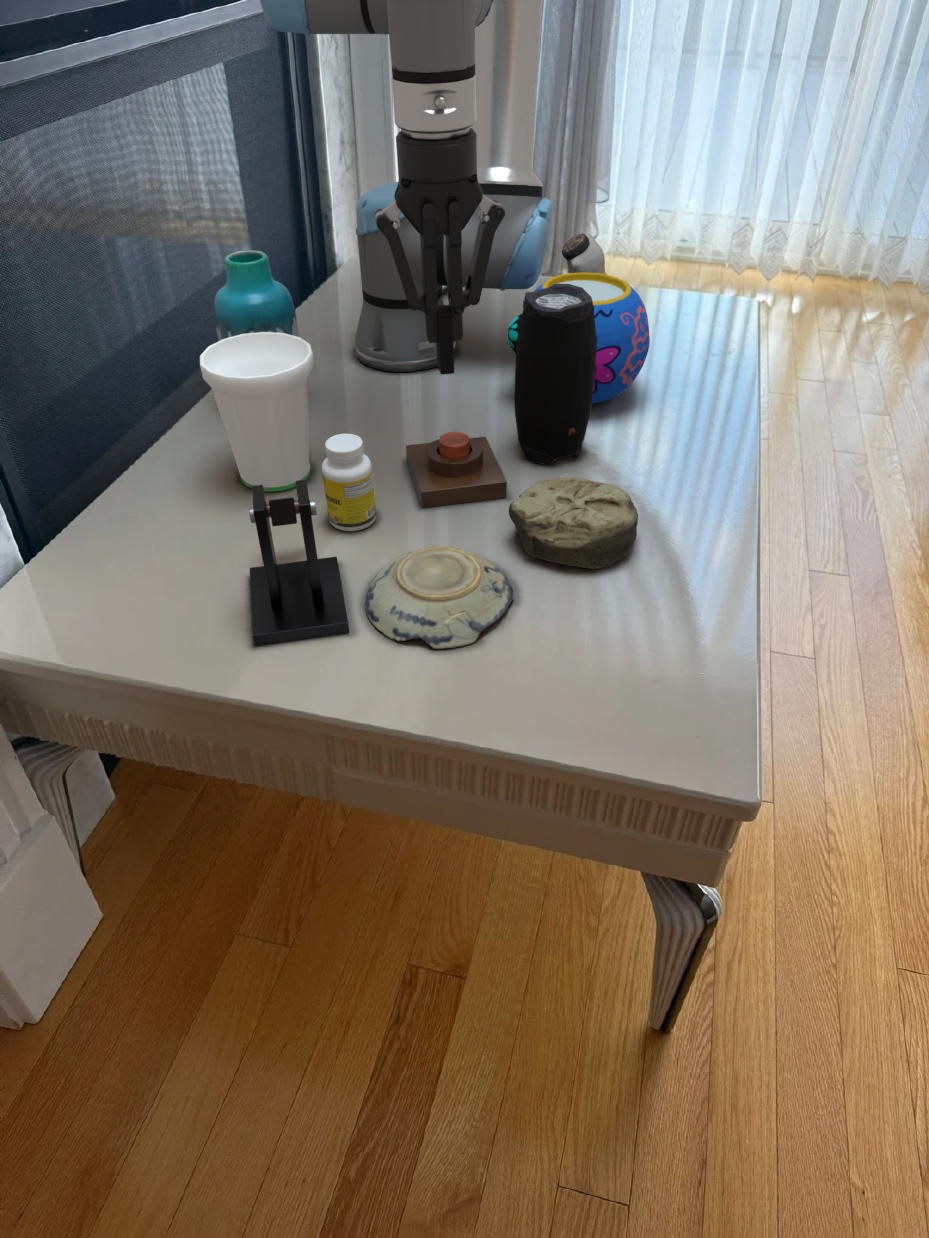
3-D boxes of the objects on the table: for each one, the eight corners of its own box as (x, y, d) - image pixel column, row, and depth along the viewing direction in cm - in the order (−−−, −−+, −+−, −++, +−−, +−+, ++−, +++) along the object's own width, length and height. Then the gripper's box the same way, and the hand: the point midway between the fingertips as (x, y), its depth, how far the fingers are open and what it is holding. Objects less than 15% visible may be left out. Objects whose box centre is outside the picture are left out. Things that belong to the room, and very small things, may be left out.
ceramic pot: (541, 360, 134) (545, 256, 124) (657, 381, 128) (672, 274, 118) (493, 409, 122) (494, 299, 112) (620, 435, 116) (632, 321, 106)
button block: (406, 461, 111) (405, 432, 109) (485, 452, 113) (485, 423, 110) (421, 508, 103) (420, 478, 101) (506, 498, 105) (507, 468, 102)
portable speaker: (593, 465, 110) (607, 308, 97) (517, 469, 110) (521, 311, 97) (580, 432, 117) (592, 280, 104) (509, 435, 116) (512, 283, 103)
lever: (263, 522, 93) (259, 499, 93) (311, 516, 94) (308, 493, 94) (256, 528, 81) (252, 502, 81) (312, 521, 82) (308, 495, 82)
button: (436, 446, 107) (436, 433, 106) (466, 443, 107) (466, 430, 106) (442, 461, 104) (441, 448, 103) (472, 458, 105) (472, 444, 103)
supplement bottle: (322, 512, 103) (312, 435, 96) (367, 502, 104) (360, 425, 98) (336, 537, 99) (326, 459, 93) (383, 526, 100) (376, 448, 94)
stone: (611, 588, 91) (616, 545, 88) (494, 552, 96) (495, 510, 93) (653, 524, 100) (659, 483, 97) (543, 494, 105) (546, 454, 102)
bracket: (251, 577, 93) (229, 470, 85) (338, 566, 95) (324, 459, 87) (254, 646, 85) (230, 534, 77) (349, 632, 87) (335, 521, 78)
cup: (267, 513, 103) (244, 389, 93) (203, 476, 109) (176, 355, 99) (348, 471, 110) (335, 351, 100) (284, 438, 116) (266, 322, 106)
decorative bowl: (383, 664, 83) (536, 631, 86) (379, 633, 81) (537, 601, 84) (352, 572, 94) (488, 545, 97) (348, 543, 92) (488, 517, 95)
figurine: (576, 320, 145) (583, 223, 136) (632, 334, 141) (643, 234, 131) (548, 338, 140) (553, 238, 130) (605, 353, 135) (614, 250, 126)
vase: (255, 423, 119) (229, 277, 107) (216, 396, 126) (187, 256, 113) (322, 398, 125) (304, 257, 112) (280, 374, 131) (260, 237, 119)
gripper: (368, 144, 80) (389, 389, 95) (513, 134, 81) (510, 378, 96) (362, 124, 85) (383, 359, 101) (497, 115, 86) (497, 348, 102)
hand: (445, 368), depth 98 cm, fingers closed
